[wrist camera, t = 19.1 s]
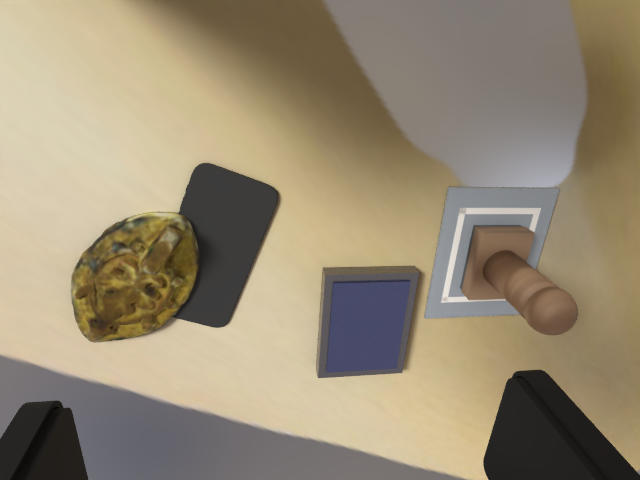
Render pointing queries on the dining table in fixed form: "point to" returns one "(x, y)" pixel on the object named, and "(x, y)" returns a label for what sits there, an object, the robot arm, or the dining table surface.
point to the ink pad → (364, 320)
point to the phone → (223, 238)
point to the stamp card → (455, 237)
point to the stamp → (515, 278)
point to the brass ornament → (135, 276)
